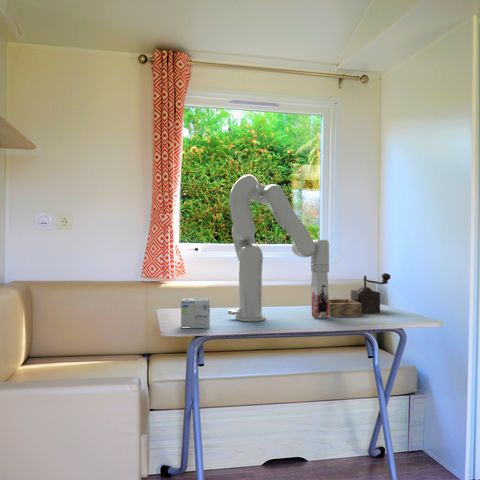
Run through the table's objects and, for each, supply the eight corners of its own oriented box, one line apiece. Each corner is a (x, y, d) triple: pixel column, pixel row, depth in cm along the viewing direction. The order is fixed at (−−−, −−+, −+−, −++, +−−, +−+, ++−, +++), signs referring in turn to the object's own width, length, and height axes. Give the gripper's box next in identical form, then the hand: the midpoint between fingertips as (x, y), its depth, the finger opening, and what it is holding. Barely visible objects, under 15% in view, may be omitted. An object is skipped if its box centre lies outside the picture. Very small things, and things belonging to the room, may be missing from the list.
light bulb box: (209, 325, 162) (209, 297, 162) (209, 328, 155) (209, 300, 155) (182, 325, 161) (182, 297, 161) (180, 329, 155) (180, 300, 155)
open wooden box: (330, 316, 179) (330, 304, 179) (320, 311, 193) (320, 299, 193) (361, 316, 180) (361, 303, 180) (349, 310, 194) (349, 298, 194)
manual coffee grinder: (359, 313, 186) (359, 273, 186) (350, 309, 197) (350, 271, 197) (392, 313, 188) (392, 273, 188) (381, 309, 199) (381, 271, 199)
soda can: (328, 319, 173) (328, 290, 173) (311, 318, 174) (311, 290, 174) (328, 316, 180) (328, 288, 180) (311, 315, 181) (311, 288, 181)
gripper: (305, 267, 185) (305, 307, 185) (317, 270, 168) (317, 314, 168) (322, 267, 186) (322, 306, 186) (335, 269, 169) (335, 313, 169)
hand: (320, 309), depth 177 cm, fingers closed on soda can, 6 cm apart
